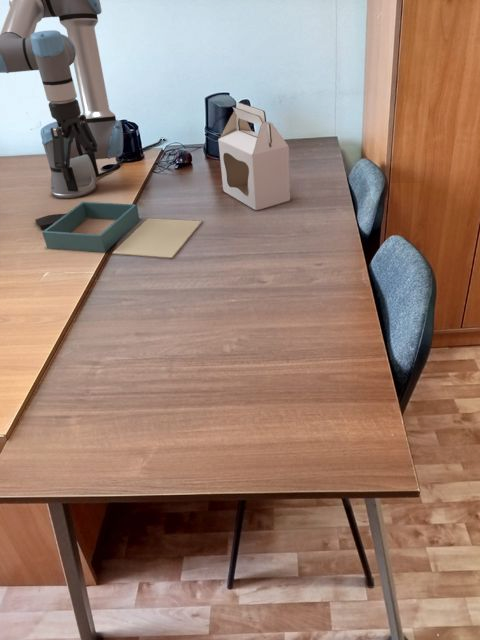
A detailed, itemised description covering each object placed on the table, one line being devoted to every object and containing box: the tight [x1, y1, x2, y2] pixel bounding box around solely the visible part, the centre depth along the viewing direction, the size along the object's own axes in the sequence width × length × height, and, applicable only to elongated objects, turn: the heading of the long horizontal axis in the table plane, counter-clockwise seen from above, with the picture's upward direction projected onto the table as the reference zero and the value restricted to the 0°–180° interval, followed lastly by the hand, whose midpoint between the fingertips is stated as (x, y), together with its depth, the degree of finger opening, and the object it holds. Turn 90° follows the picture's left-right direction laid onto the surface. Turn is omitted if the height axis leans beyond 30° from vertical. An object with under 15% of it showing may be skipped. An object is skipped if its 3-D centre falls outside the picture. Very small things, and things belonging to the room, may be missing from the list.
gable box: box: [217, 102, 291, 211], centre depth 169 cm, size 22×13×28 cm, turn 32°
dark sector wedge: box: [34, 212, 68, 231], centre depth 169 cm, size 8×14×2 cm, turn 120°
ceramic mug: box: [65, 154, 97, 191], centre depth 149 cm, size 11×8×8 cm
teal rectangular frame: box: [41, 201, 140, 253], centre depth 159 cm, size 23×19×5 cm
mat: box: [111, 217, 203, 260], centre depth 156 cm, size 24×18×1 cm
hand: (84, 183), depth 151 cm, fingers closed on ceramic mug, 11 cm apart
